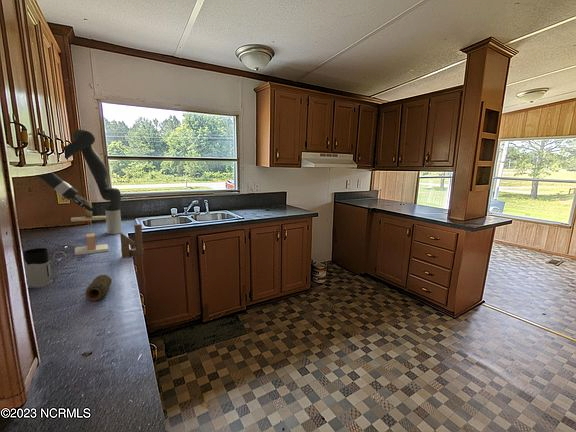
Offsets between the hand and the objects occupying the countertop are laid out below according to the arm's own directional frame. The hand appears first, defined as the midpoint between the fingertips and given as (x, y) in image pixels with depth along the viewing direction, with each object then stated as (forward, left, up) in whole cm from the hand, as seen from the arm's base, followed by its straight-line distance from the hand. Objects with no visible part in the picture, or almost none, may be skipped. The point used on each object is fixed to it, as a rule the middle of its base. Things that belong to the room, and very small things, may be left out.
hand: (92, 209), depth 174 cm
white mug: (+60, -18, -22) cm, 67 cm away
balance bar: (0, -2, -6) cm, 7 cm away
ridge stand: (+16, -2, -22) cm, 27 cm away
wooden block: (+37, +17, -22) cm, 47 cm away
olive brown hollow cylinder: (+83, 0, -22) cm, 86 cm away
